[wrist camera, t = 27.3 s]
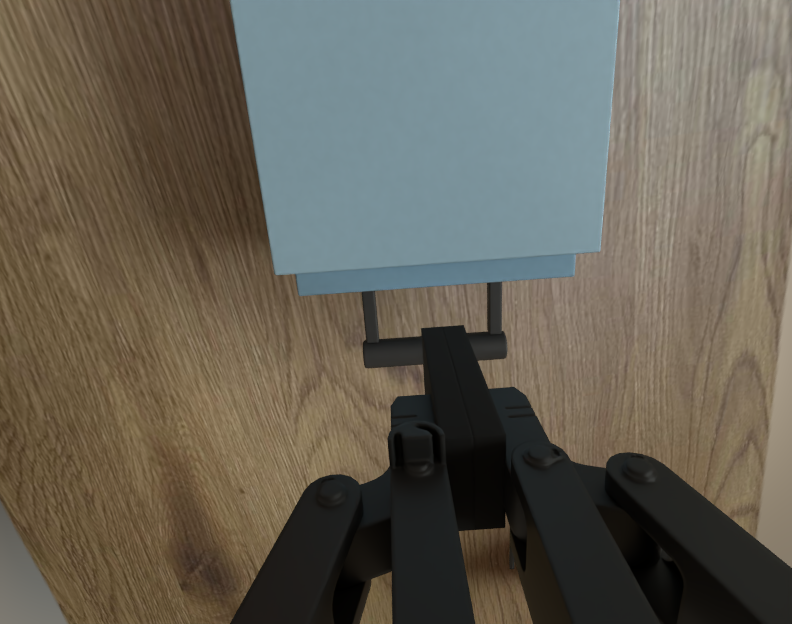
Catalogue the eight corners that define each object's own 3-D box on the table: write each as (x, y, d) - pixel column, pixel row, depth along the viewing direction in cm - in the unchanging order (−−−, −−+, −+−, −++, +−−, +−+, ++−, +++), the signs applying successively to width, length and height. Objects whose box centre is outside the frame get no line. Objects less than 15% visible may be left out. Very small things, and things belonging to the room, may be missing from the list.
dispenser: (531, 212, 28) (601, 252, 19) (311, 229, 28) (274, 276, 19) (540, -104, 22) (641, -261, 13) (270, -82, 23) (192, -223, 14)
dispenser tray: (523, 319, 29) (568, 382, 22) (332, 332, 29) (313, 400, 22) (531, -51, 22) (600, -138, 15) (286, -31, 23) (237, -109, 15)
